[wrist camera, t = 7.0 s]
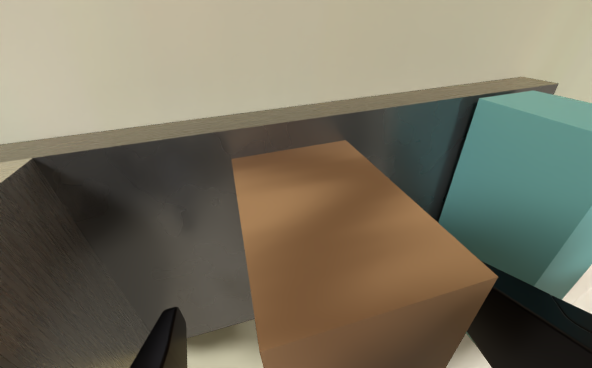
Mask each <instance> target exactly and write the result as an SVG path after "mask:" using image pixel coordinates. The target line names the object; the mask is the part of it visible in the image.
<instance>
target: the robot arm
mask: <svg viewBox="0 0 592 368" xmlns="http://www.w3.org/2000/svg"><path fill="white" fill-rule="evenodd" d="M480 261H481V260H480ZM481 262H482V263H484V264H485V265H486V266H487V267H488V268H489V269H490V270H491V271H492V272H494V273H495V274H496V275H497V276H498V278H497V280H496V282H495V284H494V285H493V287H492V289H491V290H490V292H489V294H488V296H487V297H486V299H485V301H484V302H483V304H482V306H481V308H480V309H479V311H478V313H477V315H476V316H475V318H474V320H473V321H472V323H471V325H470V327H469V328H468V330H467V333H468V334H469V336H470V337H471V339H472V340H473V342H474V343H475V344H476V346H477V347H478V349H479V350H480V351H481V353H482V354H483V356H484V357H485V358H486V360H487V361H488V363H489V364H490V365H491V367H492V368H592V314H591V313H589V312H587V311H584V310H582V309H580V308H578V307H576V306H574V305H572V304H570V303H567V302H565V301H563V300H561V299H559V298H557V297H555V296H553V295H550V294H549V293H547V292H545V291H543V290H540V289H538V288H536V287H534V286H532V285H530V284H528V283H526V282H524V281H522V280H520V279H518V278H516V277H514V276H512V275H510V274H508V273H505V272H503V271H501V270H499V269H497V268H495V267H493V266H491V265H489V264H487V263H485V262H483V261H481ZM130 368H187V329H186V321H185V319H184V317H183V315H182V313H181V311H180V309H179V308H178V307H172V308H168V309H165V310H164V311H163V312H162V313H161V315H160V317H159V318H158V320H157V322H156V324H155V325H154V327H153V329H152V330H151V332H150V334H149V335H148V337H147V339H146V341H145V342H144V344H143V346H142V347H141V349H140V351H139V352H138V354H137V356H136V357H135V359H134V361H133V363H132V364H131V366H130Z"/></svg>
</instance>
